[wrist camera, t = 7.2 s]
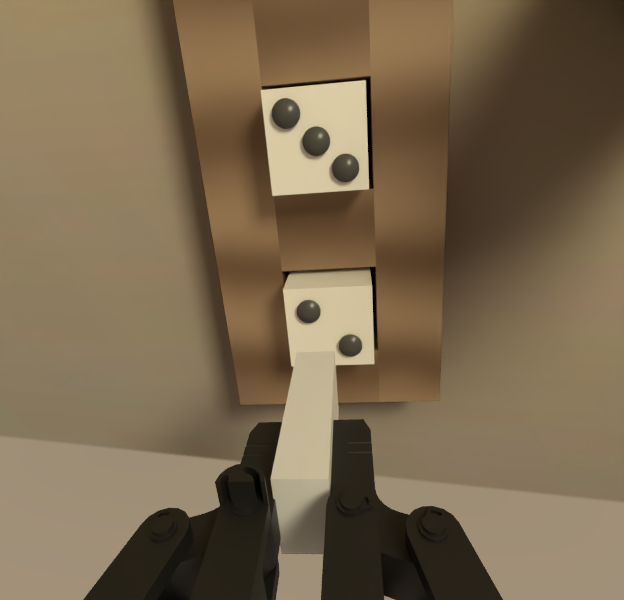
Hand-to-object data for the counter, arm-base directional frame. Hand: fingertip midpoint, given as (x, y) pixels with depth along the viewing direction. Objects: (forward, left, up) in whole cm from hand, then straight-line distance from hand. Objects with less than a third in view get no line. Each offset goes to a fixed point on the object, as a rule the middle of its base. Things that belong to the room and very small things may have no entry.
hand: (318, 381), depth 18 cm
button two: (0, 0, -9) cm, 9 cm away
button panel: (+8, -5, -10) cm, 13 cm away
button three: (+8, -5, -9) cm, 12 cm away
